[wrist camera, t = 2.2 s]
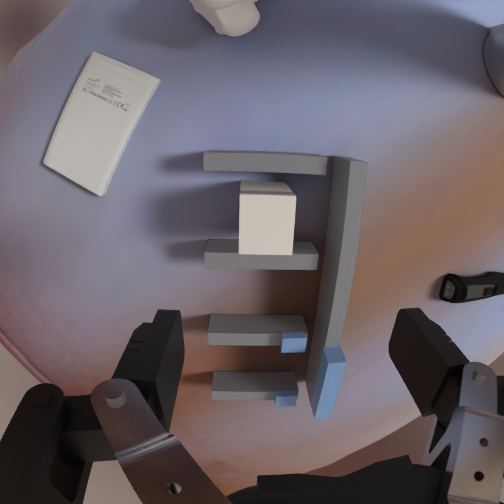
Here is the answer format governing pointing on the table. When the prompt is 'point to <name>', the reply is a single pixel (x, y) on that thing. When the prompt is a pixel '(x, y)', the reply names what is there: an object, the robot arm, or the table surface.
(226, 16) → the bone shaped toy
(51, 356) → the table surface
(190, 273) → the table surface
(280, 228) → the cream white box
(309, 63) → the table surface
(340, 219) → the rack
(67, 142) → the external hard drive
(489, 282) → the electric trimmer
